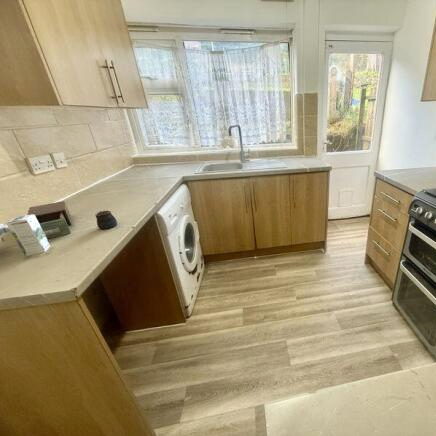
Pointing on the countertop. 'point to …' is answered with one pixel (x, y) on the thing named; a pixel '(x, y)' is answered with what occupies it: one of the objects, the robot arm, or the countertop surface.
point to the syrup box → (28, 234)
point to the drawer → (54, 225)
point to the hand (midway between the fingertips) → (9, 234)
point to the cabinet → (51, 210)
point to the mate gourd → (105, 220)
